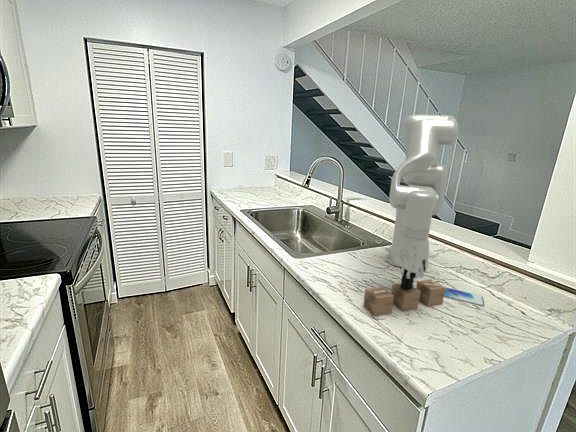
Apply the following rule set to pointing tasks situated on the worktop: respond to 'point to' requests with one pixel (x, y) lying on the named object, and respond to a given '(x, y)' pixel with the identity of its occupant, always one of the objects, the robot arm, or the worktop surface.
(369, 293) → the block one
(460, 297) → the smartphone
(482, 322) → the worktop surface
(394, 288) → the plain block
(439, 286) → the block seven
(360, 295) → the worktop surface
